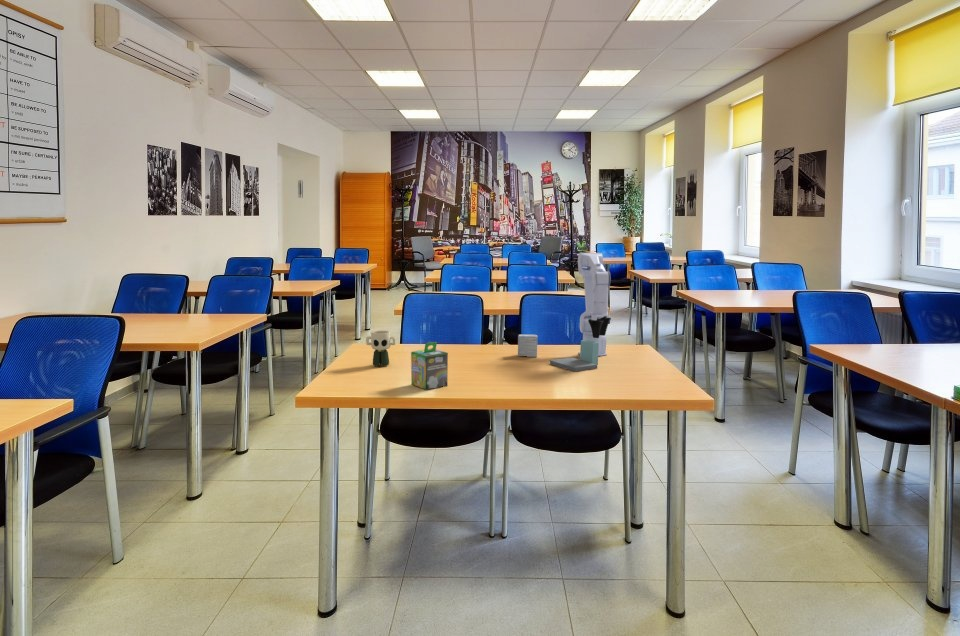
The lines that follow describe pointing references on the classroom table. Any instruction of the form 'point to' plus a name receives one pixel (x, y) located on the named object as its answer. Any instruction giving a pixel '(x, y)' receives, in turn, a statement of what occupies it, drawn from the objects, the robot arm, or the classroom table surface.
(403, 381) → the classroom table surface
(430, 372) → the chalk box
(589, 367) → the rubber pad
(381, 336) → the character mug
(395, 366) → the classroom table surface
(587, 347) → the teal slab
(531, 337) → the medicine box
